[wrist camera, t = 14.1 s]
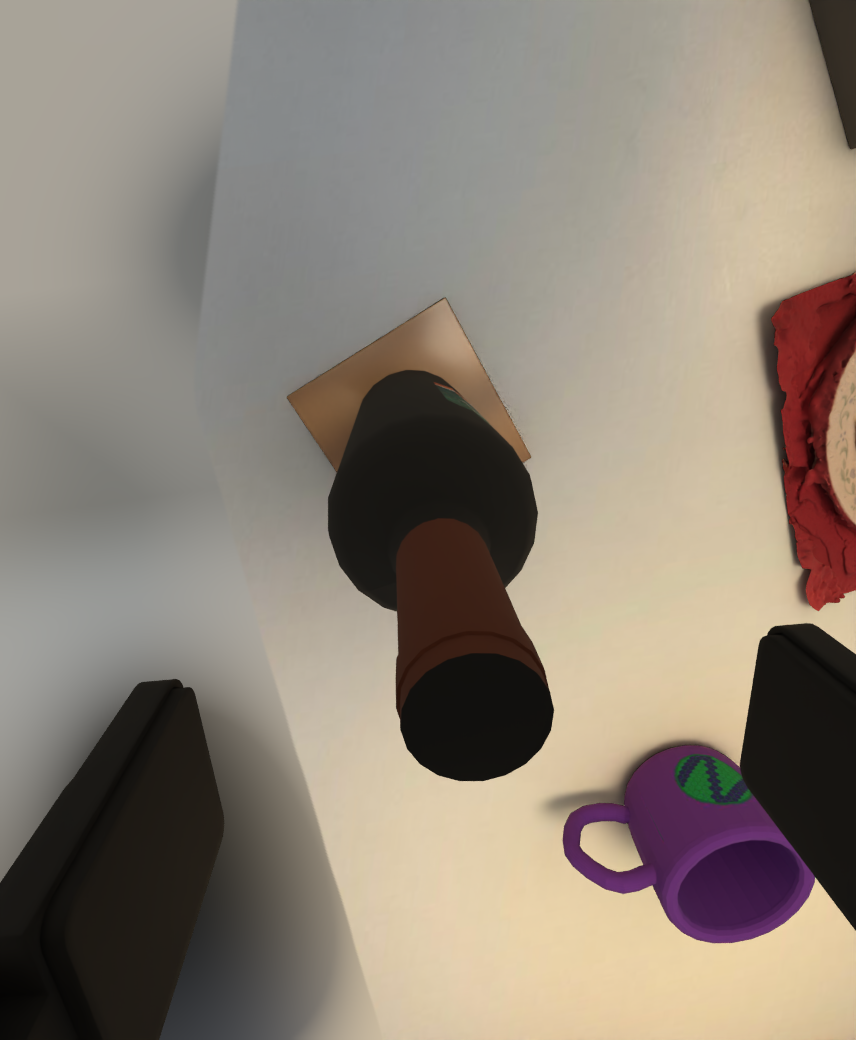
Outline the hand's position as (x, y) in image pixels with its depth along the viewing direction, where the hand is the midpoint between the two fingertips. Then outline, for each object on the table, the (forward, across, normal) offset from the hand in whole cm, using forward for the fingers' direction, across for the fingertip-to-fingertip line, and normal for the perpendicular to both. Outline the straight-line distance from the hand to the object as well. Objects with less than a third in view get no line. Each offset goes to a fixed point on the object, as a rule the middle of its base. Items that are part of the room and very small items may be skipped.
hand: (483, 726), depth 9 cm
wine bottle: (+31, 0, +1) cm, 31 cm away
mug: (+31, -18, +34) cm, 49 cm away
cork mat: (+31, 0, +1) cm, 31 cm away
